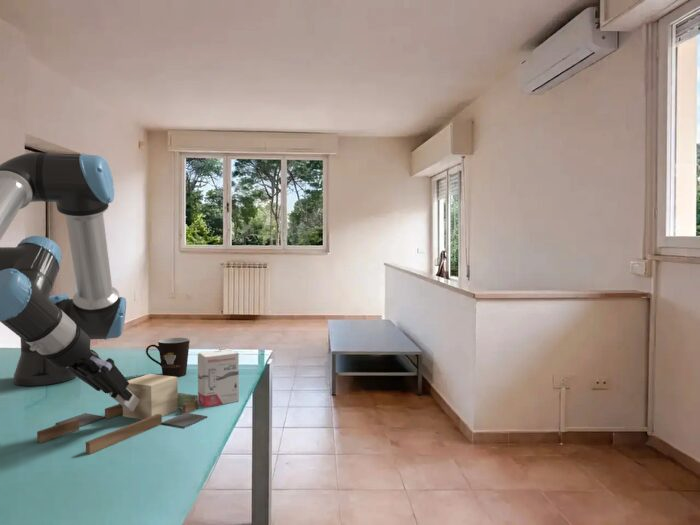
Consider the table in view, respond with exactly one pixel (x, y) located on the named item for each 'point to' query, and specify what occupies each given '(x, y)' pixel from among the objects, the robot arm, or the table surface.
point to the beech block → (153, 395)
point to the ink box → (218, 377)
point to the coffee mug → (172, 356)
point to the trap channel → (73, 424)
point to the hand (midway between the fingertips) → (134, 405)
